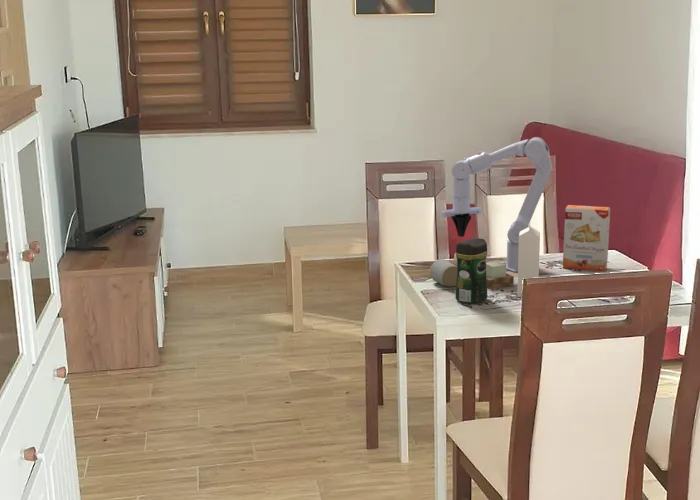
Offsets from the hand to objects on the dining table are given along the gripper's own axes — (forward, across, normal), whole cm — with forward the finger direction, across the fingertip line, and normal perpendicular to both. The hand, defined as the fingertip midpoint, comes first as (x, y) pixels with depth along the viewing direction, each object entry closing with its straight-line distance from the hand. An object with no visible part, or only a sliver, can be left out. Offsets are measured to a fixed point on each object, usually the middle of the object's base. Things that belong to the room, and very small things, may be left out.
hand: (461, 236), depth 291 cm
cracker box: (+11, -35, +22) cm, 43 cm away
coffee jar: (+11, +17, +36) cm, 41 cm away
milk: (+11, -1, +39) cm, 40 cm away
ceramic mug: (+11, +14, +18) cm, 25 cm away
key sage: (+8, +2, +25) cm, 26 cm away
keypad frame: (+10, +2, +16) cm, 19 cm away
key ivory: (+9, +2, +6) cm, 11 cm away
